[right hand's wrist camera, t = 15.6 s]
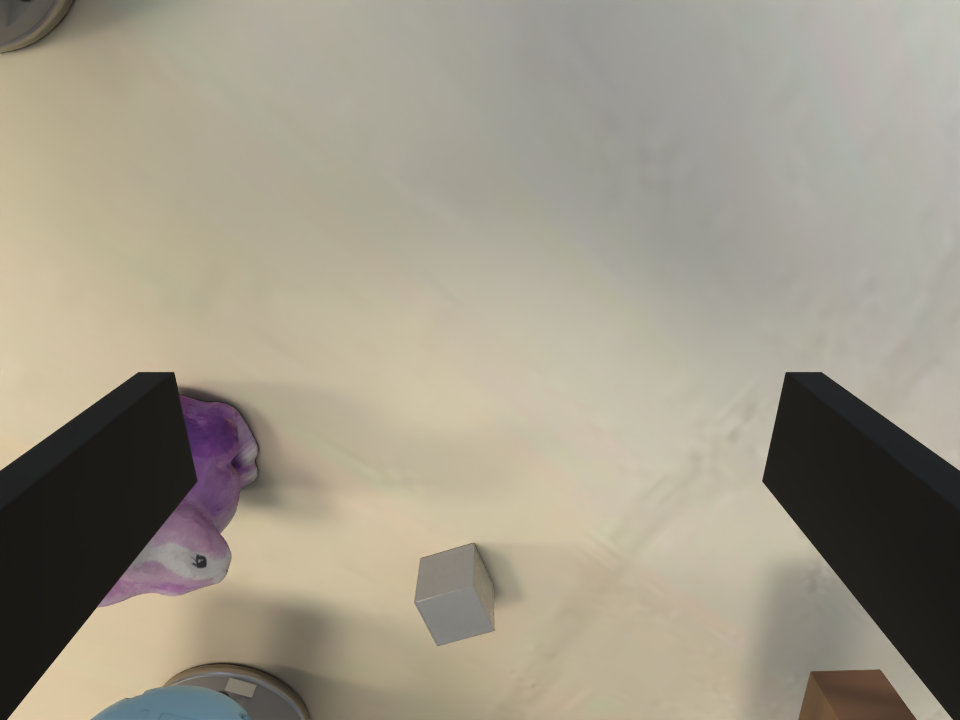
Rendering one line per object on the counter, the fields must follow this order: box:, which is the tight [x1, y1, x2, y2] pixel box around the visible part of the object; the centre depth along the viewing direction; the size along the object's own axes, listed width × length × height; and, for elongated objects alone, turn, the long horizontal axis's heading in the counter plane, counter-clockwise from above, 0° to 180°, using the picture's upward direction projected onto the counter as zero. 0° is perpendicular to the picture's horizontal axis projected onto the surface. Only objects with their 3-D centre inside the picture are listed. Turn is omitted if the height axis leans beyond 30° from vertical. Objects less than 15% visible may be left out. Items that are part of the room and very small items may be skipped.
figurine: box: [98, 395, 258, 607], centre depth 38 cm, size 9×10×15 cm
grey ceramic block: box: [414, 543, 495, 646], centre depth 48 cm, size 5×5×5 cm
